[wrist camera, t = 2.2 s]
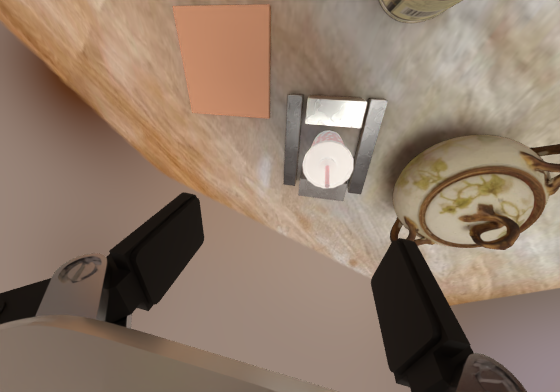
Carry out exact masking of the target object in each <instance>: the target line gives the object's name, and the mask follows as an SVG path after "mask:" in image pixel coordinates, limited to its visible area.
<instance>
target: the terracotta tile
mask: <svg viewBox="0 0 560 392" xmlns="http://www.w3.org/2000/svg"><path fill="white" fill-rule="evenodd" d="M173 12H174V17H175V22H176V28H177V33H178V38H179V44H180V49H181V55H182V60H183V65H184V71H185V76H186V81H187V87H188V92H189V98H190V103H191V108H192V113H203V114H216V115H229V116H242V117H255V118H270V45H271V6H270V5H210V6H173Z"/></svg>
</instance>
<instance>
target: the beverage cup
mask: <svg viewBox="0 0 560 392" xmlns="http://www.w3.org/2000/svg"><path fill="white" fill-rule="evenodd" d="M353 161H354V160H353V157H352V155H351V153H350V151H349V149H348V148H347V147H345V145H344V143H343V141H342V139H341V137H340V135H339V134H337V133H336V132H334V131H331V130H328V131H323V132H321V133H319V134H318V135H317V136H316V138H315V139H314V141H313V144H312V146H311V148H310V149H309V150H308V151H307V153H306V154H305V157H304V160H303V164H302V165H303V173H304V175H305V176H306V178H307V180H308V181H309V182H311V183H312V184H313V185H315V186H317V187H321V188H335V187H337V186H339V185H342V184H343V183H344V182H345V181H346V180H348V179H349V178H350V175H351V173H352V171H353Z"/></svg>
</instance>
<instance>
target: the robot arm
mask: <svg viewBox="0 0 560 392" xmlns="http://www.w3.org/2000/svg"><path fill="white" fill-rule="evenodd" d="M203 241H204V234H203V225H202V218H201V210H200V202H199V199H198V198H197V197H196V195H193V194H189V193H181V194H180V195H179V196H178V197H176V198H175V199H174V200H173V201H171V202H170V203H169V204H167V206H165V207H164V208H163V209H161V210H160V211H159V212H158V213H156V214H155V215H154V216H152V217H151V218H150V219H149V220H147V221H146V222H145V223H144V224H142V225H141V226H140V227H139V228H137V229H136V230H135V231H134V232H132V233H131V234H130V235H129V236H127V237H126V238H125V239H124V240H122V241H121V242H120V243H119V244H117V245H116V246H115V247H114V248H113V249H111V250H110V251H109V252H110V254H109V255H108V256H107V257H105V256H104V255H102V254H100V253H91V254H85V255H82V256H78V257H76V258H74V259H72V260H70V261H68V262H66V263H65V264H63V265H62V266H61V267H60V268H59V269H57V270H56V272H55V273H54V275H53V276H52V278H50V279H47V280H43V281H40V282H37V283H33V284H30V285H27V286H24V287H20V288H17V289H13V290H10V291H7V292H4V293H0V392H338V391H335V390H332V389H329V388H325V387H322V386H319V385H316V384H312V383H309V382H306V381H302V380H299V379H296V378H293V377H290V376H287V375H283V374H280V373H277V372H274V371H270V370H267V369H264V368H260V367H257V366H254V365H251V364H247V363H244V362H241V361H238V360H234V359H231V358H227V357H224V356H221V355H218V354H214V353H211V352H208V351H204V350H201V349H198V348H195V347H191V346H188V345H184V344H181V343H178V342H174V341H171V340H167V339H164V338H161V337H158V336H154V335H151V334H147V333H144V332H141V331H137V330H134V329H131V320H132V313H133V311H134V310H135V309H136V308H140V309H143V310H147V311H149V310H150V308H151V307H152V306H153V305H154V304H157V303H158V302H159V301H160V300H161V299H162V297H163V296H164V294H165V293H166V292H167V291H168V289H169V288H170V287H171V285H172V284H173V283H174V281H175V280H176V279H177V277H178V276H179V275H180V273H181V272H182V270H183V269H184V268H185V266H186V265H187V264H188V262H189V261H190V259H191V258H192V257H193V256H194V254H195V253H196V252H197V250H198V249H199V248H200V246H201V245H202V244H203ZM371 286H372V291H373V296H374V300H375V304H376V310H377V314H378V319H379V324H380V328H381V333H382V338H383V342H384V347H385V351H386V356H387V361H388V365H389V369H390V371H391V372H393V373H394V376H395V380H396V383H398V384H401V385H404V386H408V387H410V388H411V392H527V391H526V390H525V388H524V387H523V385H522V384H521V383H520V382H519V381H518V380H517V378H516V377H515V376H514V375H513V374H512V373H511V372H510V371H509V370H507V369H506V368H505V367H504V366H503V365H501V364H500V363H499V362H497V361H495V360H494V359H492V358H490V357H488V356H486V355H484V354H479V353H473V351H472V349H471V347H470V343H469V341H468V339H467V338H466V336H465V334H464V332H463V330H462V328H461V326H460V325H459V323H458V321H457V319H456V317H455V315H454V313H453V311H452V310H451V308H450V306H449V304H448V302H447V300H446V298H445V297H444V295H443V293H442V291H441V289H440V287H439V285H438V284H437V282H436V280H435V278H434V276H433V274H432V272H431V270H430V269H429V267H428V265H427V263H426V261H425V259H424V257H423V256H422V254H421V252H420V250H419V248H418V246H417V244H416V243H415V242H414V241H411V240H406V239H401V238H399V239H397V241H393V242H392V243H391V245H390V247H389V249H388V250H387V252H386V254H385V256H384V257H383V259H382V261H381V263H380V265H379V266H378V268H377V270H376V272H375V273H374V275H373V277H372V280H371Z"/></svg>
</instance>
